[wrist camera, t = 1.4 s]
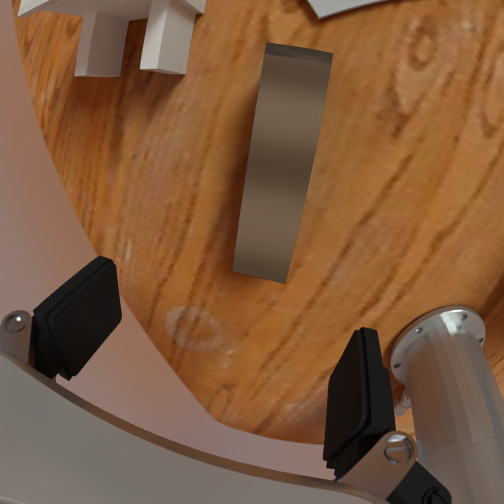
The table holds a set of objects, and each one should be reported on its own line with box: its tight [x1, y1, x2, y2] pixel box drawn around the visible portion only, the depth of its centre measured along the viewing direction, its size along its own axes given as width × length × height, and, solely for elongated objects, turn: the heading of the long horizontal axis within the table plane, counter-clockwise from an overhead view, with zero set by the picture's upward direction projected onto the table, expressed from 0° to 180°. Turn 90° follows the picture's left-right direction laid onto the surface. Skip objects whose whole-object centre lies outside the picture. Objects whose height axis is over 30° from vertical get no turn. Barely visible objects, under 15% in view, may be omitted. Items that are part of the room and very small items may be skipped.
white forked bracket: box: [17, 0, 206, 77], centre depth 14 cm, size 10×10×12 cm
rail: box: [232, 43, 333, 284], centre depth 20 cm, size 16×4×6 cm, turn 171°
